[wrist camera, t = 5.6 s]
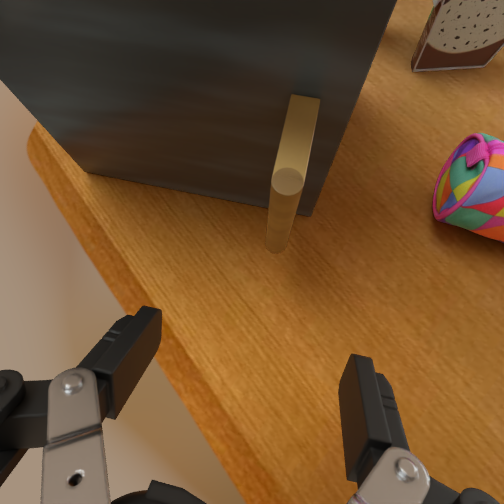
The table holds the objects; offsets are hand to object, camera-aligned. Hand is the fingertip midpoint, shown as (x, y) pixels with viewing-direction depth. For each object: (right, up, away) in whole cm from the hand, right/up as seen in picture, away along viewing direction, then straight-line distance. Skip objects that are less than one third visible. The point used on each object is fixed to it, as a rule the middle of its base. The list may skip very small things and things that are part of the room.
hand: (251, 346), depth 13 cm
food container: (+25, +30, +29) cm, 48 cm away
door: (-7, +8, +21) cm, 23 cm away
